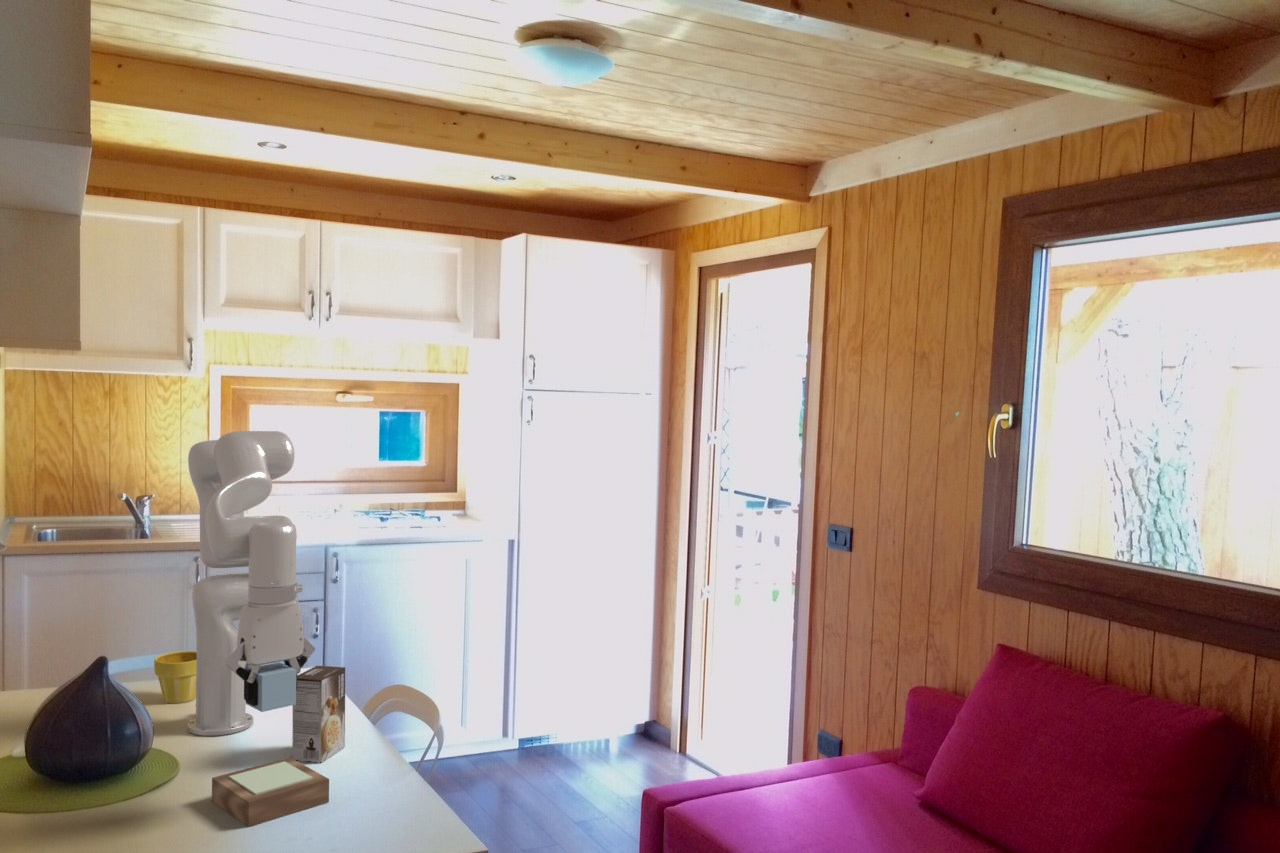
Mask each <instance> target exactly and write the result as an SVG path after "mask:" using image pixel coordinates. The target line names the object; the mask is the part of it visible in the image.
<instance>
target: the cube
mask: <svg viewBox="0 0 1280 853" xmlns="http://www.w3.org/2000/svg"><path fill="white" fill-rule="evenodd" d="M255 681H256V682H257V683H258V704H257V706H252V705H250V704H248V703H246V705H247V706H249V707H251V708H253V709H255V710H257V711H259V712H260V713H264V712H269V711H274V710H277V709H282V708H286V707H290V706H291V707H292V706H293V705H296V669H294V668H292V667H289V666H287V665H285V663H281V662H274V663H269V664H263V665H260V668H259V670H258V673H257V676H256V678H255Z"/></svg>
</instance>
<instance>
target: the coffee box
mask: <svg viewBox="0 0 1280 853" xmlns="http://www.w3.org/2000/svg"><path fill="white" fill-rule="evenodd" d="M345 734H346V667H345V666H342V667H341V666H332V665H331V666H330V665H329V666H328V665H316V666H313V667H311V668H309V669H307V670H306V671H303V672H300V673H299V674H297V690H296V705H292V742H291V743H292V748H291V749H292V752H291V753H292V756H291V758H292V759H294V760H298V762H306V761H311V762H310V763H315V762H322V763H323V761H324V762H325V761H326V760H328V759H329V758H331V757H332V756H333V755H335V754H336V753H338V752H340V751H341V750H342V749H343V748H345V746H346V735H345Z"/></svg>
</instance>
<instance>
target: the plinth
mask: <svg viewBox="0 0 1280 853" xmlns="http://www.w3.org/2000/svg"><path fill="white" fill-rule="evenodd" d="M211 801H212V803H214V804H215V805H217V806H218V807H219V808H221V809H223V810H224V811H225V812H227V813H228V814H230V815H231V816H232V817H233V818H235V819H237V820H238V821H239V822H241V823H242V824H244V825H245V826H247V827H248V828H249V827H253V826H256V825H260V824H263V823H266V822H270V821H272V820H276V819H279V818H282V817H285V816H289V815H293V814H294V813H298V812H299V813H300V812H301V811H304V810H308V809H311V808H315V807H318V806H321V804H322V805H324V804H327V802H328V803H329V802H330V778H328V777H326V776H324V775H323V774H321V773H319V772H318V771H316V770H313V769H311V768H310V767H308V766H306V765H305V764H304V763H301V762H300V761H296V760H294V759H292V757H291V756H289V757H285V758H282V759H281V758H280V759H279V760H274V761H271V762H268V763H263V764H259V765H255V766H251V767H247V768H244V769H240V770H236V771H233V772H228V773H225V774H222V775H217V776H214V777H211Z"/></svg>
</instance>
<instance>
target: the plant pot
mask: <svg viewBox="0 0 1280 853" xmlns="http://www.w3.org/2000/svg"><path fill="white" fill-rule="evenodd" d="M196 652H197V650H196V651H195V650H184V651H183V650H182V651H173V652H167V653H164V654H160V655H158V656H156V657H155V658H154V662H153V664H154V666H153V667H154V675H156V677H158V682H159V686H160V690H161V694H162V699H163V702H164V703H167V704H174V705H175V704H184V703H188V702H191V701H193V700H196V659H197V654H196Z"/></svg>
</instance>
